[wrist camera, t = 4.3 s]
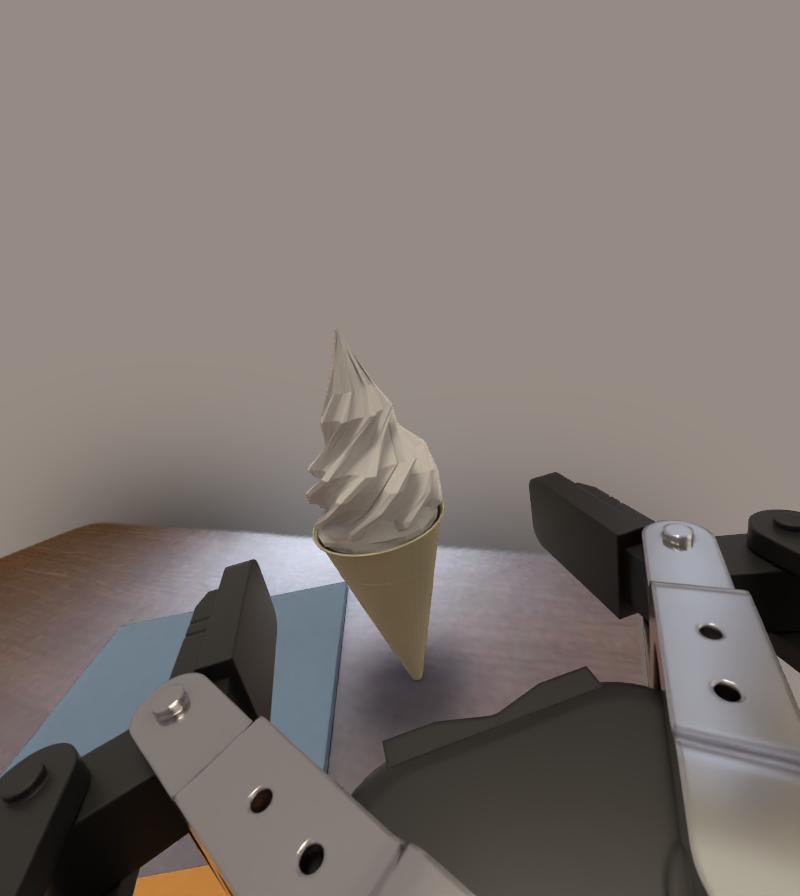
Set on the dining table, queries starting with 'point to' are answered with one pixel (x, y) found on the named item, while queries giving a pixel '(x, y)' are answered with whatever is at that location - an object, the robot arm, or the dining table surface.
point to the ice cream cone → (377, 507)
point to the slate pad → (155, 652)
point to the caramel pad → (180, 883)
